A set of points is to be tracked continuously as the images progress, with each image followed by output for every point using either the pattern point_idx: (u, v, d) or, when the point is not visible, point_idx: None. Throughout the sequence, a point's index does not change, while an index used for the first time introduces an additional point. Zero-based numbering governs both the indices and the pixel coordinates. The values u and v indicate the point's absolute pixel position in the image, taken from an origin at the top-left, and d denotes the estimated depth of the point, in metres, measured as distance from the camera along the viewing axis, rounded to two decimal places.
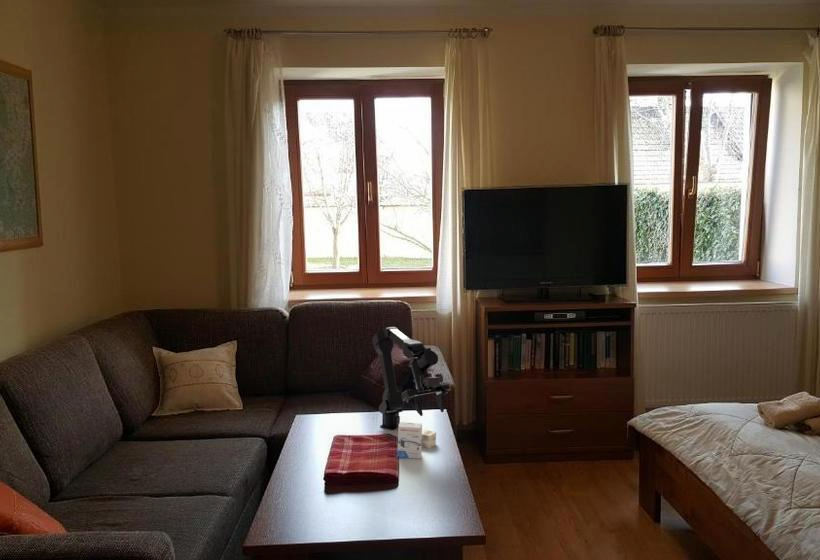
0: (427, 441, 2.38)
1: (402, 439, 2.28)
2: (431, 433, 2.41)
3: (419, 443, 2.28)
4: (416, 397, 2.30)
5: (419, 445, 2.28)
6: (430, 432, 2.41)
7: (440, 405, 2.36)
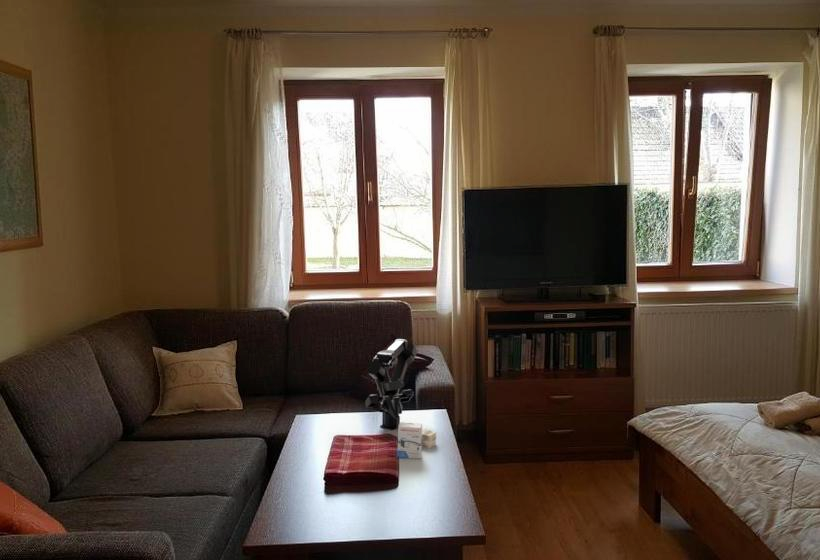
0: (427, 441, 2.38)
1: (402, 439, 2.28)
2: (431, 433, 2.41)
3: (419, 443, 2.28)
4: (389, 400, 2.39)
5: (419, 445, 2.28)
6: (430, 432, 2.41)
7: None
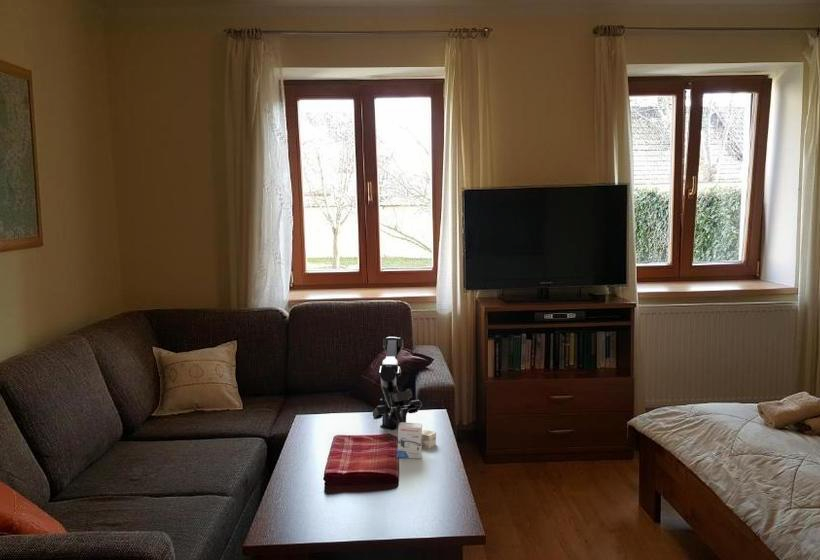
0: (427, 441, 2.38)
1: (402, 439, 2.28)
2: (431, 433, 2.41)
3: (419, 443, 2.28)
4: (397, 411, 2.34)
5: (419, 445, 2.28)
6: (430, 432, 2.41)
7: None
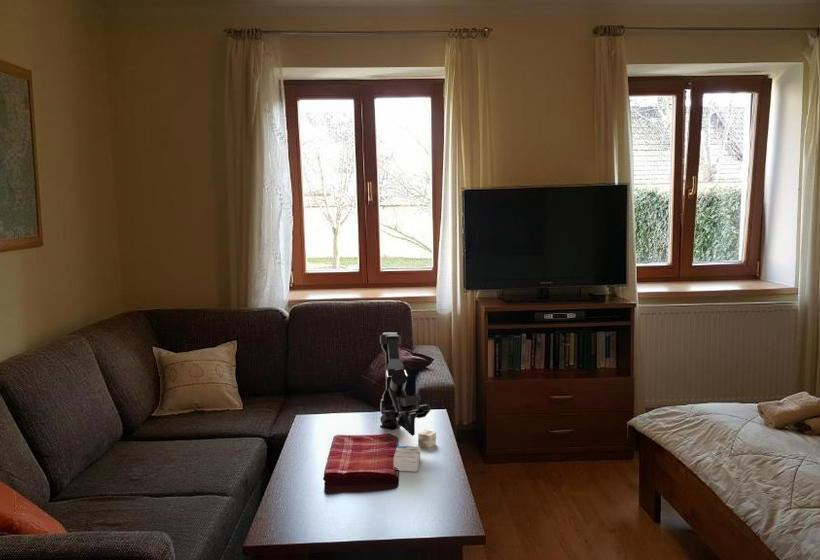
0: (427, 441, 2.38)
1: None
2: (431, 433, 2.41)
3: None
4: (405, 416, 2.28)
5: None
6: (430, 432, 2.41)
7: None
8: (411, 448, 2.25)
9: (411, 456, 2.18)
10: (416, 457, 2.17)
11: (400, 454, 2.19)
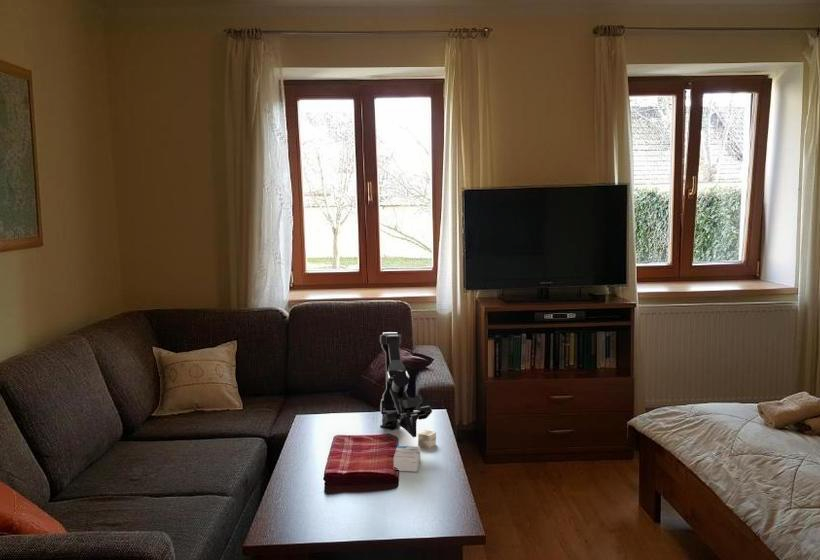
0: (427, 441, 2.38)
1: None
2: (431, 433, 2.41)
3: None
4: (407, 418, 2.27)
5: None
6: (430, 432, 2.41)
7: None
8: (411, 448, 2.25)
9: (411, 456, 2.18)
10: (416, 457, 2.17)
11: (400, 454, 2.19)
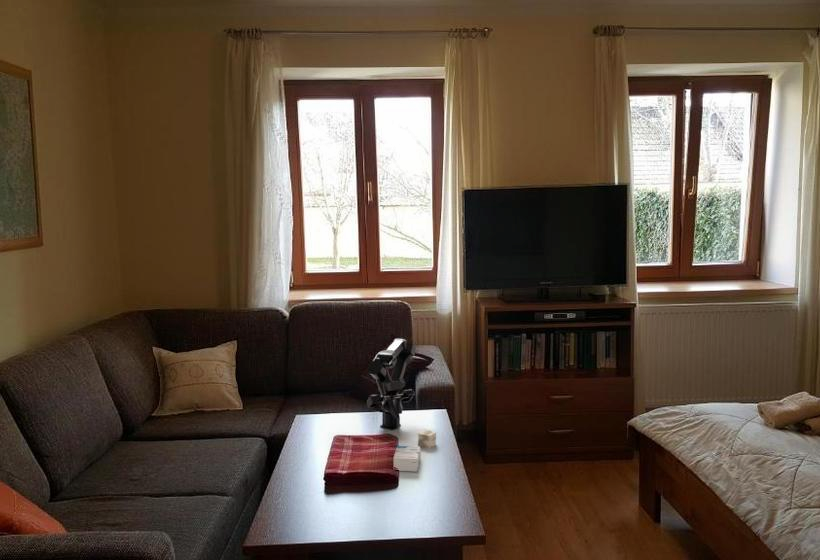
0: (427, 441, 2.38)
1: None
2: (431, 433, 2.41)
3: None
4: (390, 400, 2.38)
5: None
6: (430, 432, 2.41)
7: None
8: (411, 448, 2.25)
9: (411, 456, 2.18)
10: (416, 457, 2.17)
11: (400, 454, 2.19)
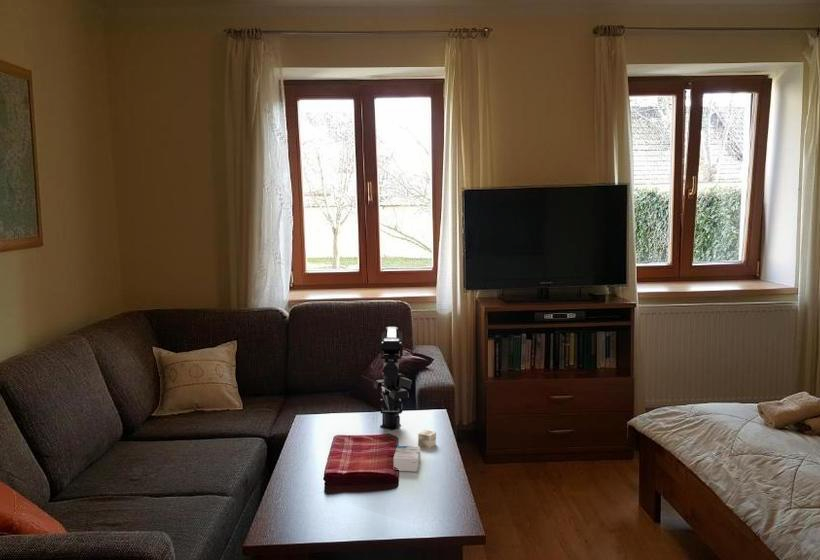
0: (427, 441, 2.38)
1: None
2: (431, 433, 2.41)
3: None
4: None
5: None
6: (430, 432, 2.41)
7: None
8: (411, 448, 2.25)
9: (411, 456, 2.18)
10: (416, 457, 2.17)
11: (400, 454, 2.19)
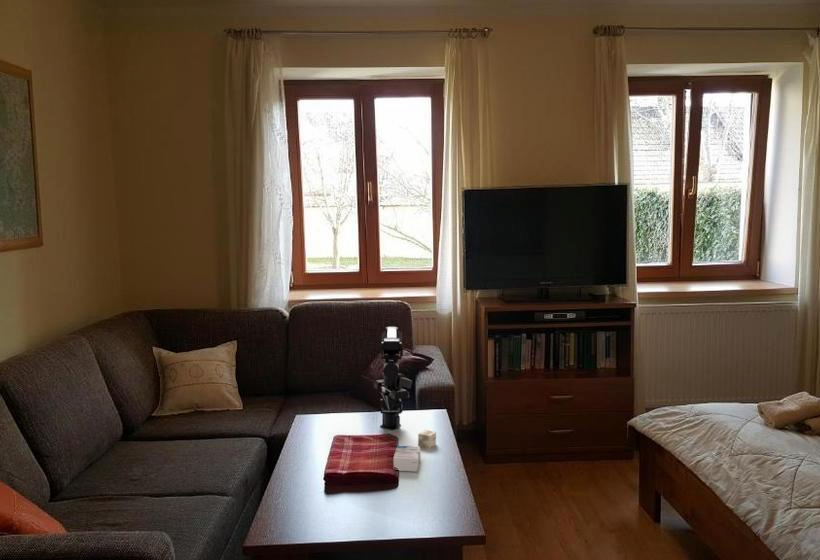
0: (427, 441, 2.38)
1: None
2: (431, 433, 2.41)
3: None
4: None
5: None
6: (430, 432, 2.41)
7: None
8: (411, 448, 2.25)
9: (411, 456, 2.18)
10: (416, 457, 2.17)
11: (400, 454, 2.19)
